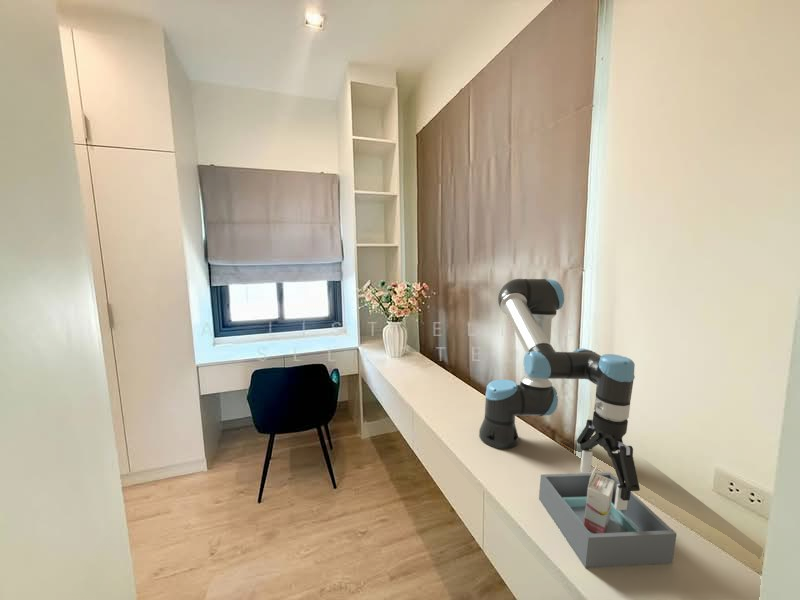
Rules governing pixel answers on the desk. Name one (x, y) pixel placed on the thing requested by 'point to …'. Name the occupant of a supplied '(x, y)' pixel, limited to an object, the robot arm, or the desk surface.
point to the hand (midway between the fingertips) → (601, 488)
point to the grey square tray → (626, 531)
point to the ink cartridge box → (598, 502)
